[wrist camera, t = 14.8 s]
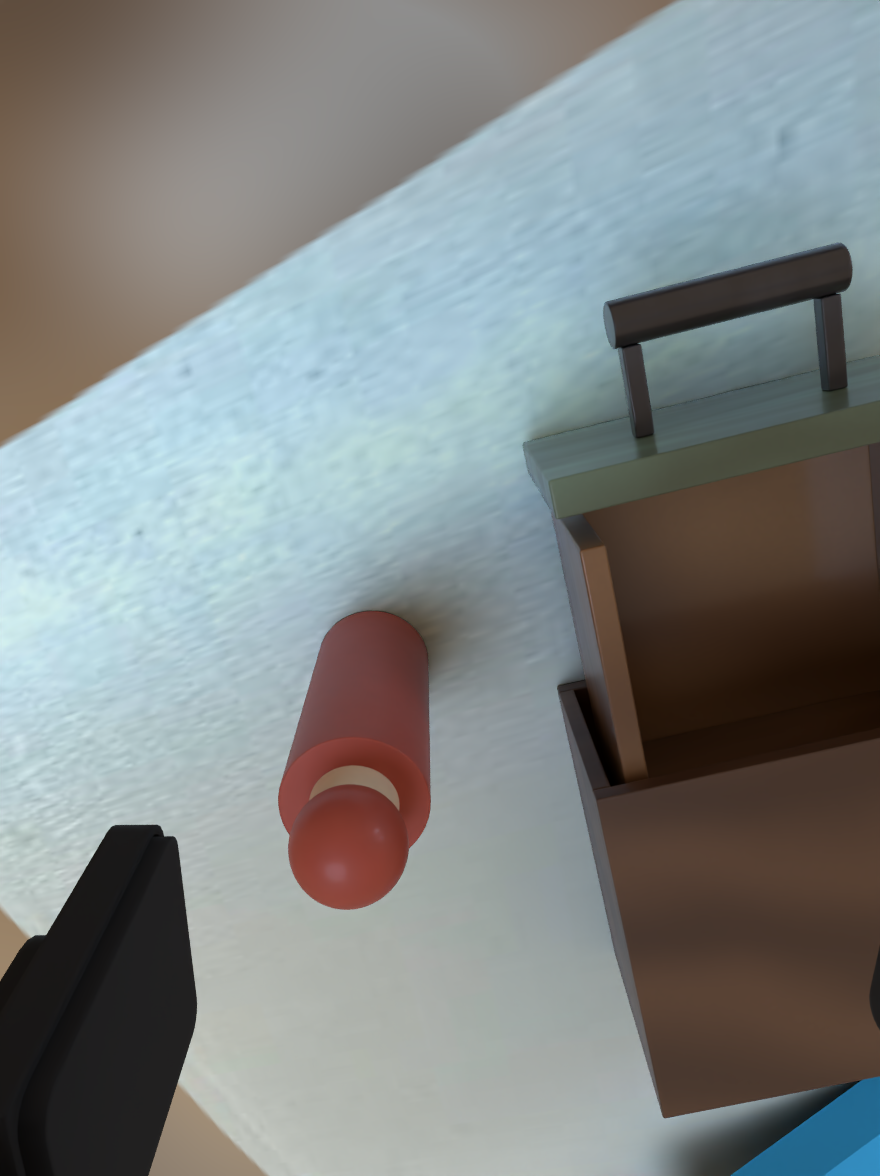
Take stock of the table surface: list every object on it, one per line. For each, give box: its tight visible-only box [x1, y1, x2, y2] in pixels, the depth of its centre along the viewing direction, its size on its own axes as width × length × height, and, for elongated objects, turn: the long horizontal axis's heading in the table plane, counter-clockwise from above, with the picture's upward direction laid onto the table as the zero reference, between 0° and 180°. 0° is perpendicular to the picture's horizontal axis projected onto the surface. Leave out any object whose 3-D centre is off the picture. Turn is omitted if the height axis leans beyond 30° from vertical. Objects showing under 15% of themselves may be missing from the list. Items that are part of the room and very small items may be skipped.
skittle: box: [278, 611, 431, 910], centre depth 27 cm, size 4×4×14 cm
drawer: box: [523, 243, 880, 786], centre depth 28 cm, size 18×13×7 cm
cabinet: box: [557, 680, 880, 1118], centre depth 32 cm, size 14×14×8 cm
